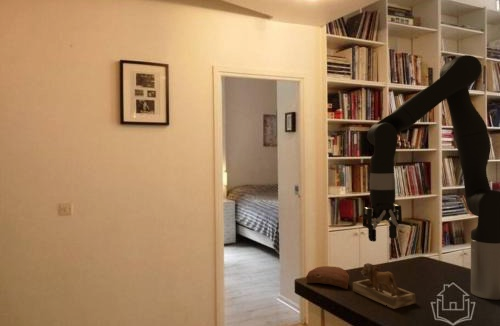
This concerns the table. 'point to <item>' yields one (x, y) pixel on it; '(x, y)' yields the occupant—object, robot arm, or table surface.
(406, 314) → the table surface
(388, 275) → the lion figurine
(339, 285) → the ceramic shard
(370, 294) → the rectangular tray
